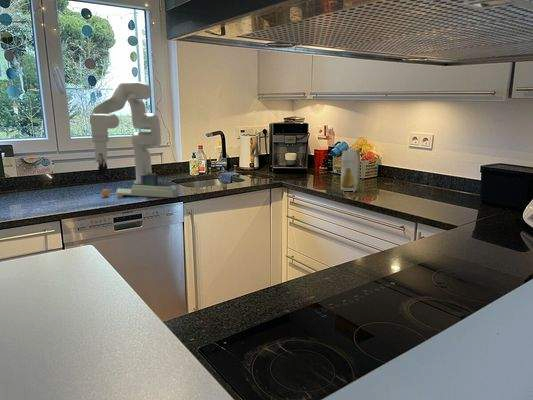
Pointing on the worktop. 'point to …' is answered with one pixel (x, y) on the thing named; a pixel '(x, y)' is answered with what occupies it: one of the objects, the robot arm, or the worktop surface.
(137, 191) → the lane
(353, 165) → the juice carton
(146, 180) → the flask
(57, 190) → the worktop surface
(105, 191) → the ball
